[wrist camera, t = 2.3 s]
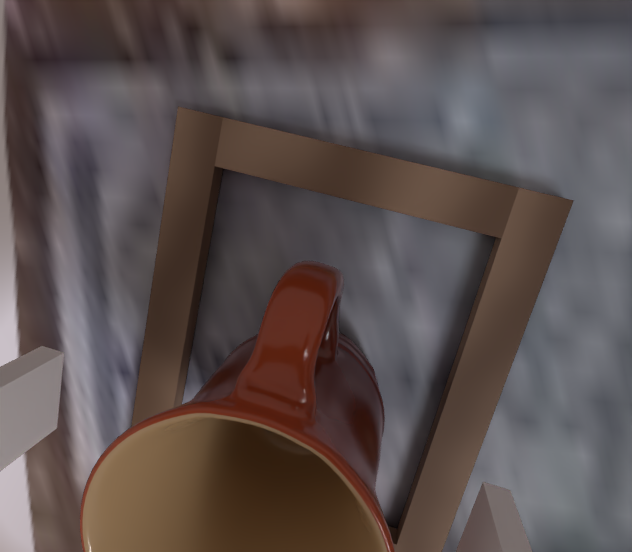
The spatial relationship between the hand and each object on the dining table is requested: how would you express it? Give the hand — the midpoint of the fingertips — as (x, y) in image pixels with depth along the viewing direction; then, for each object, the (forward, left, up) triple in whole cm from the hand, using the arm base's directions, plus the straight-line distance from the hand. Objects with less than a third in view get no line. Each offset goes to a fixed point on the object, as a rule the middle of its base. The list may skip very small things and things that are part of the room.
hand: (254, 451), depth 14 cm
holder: (0, 0, -8) cm, 8 cm away
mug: (0, 0, -8) cm, 8 cm away
